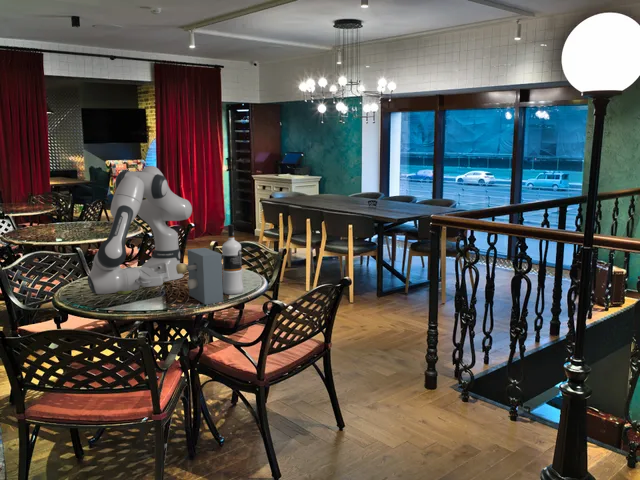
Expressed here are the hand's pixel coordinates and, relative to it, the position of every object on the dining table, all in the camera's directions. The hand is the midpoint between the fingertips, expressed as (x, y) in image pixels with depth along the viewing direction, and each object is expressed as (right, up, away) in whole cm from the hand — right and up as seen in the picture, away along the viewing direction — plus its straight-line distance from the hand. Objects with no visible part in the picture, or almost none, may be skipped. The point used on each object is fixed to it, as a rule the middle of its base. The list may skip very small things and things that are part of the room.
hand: (167, 274), depth 236 cm
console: (+14, -11, +10) cm, 20 cm away
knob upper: (+10, +1, +6) cm, 11 cm away
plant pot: (-24, -10, +21) cm, 33 cm away
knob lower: (+14, -6, +9) cm, 17 cm away
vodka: (+24, -9, +20) cm, 32 cm away
